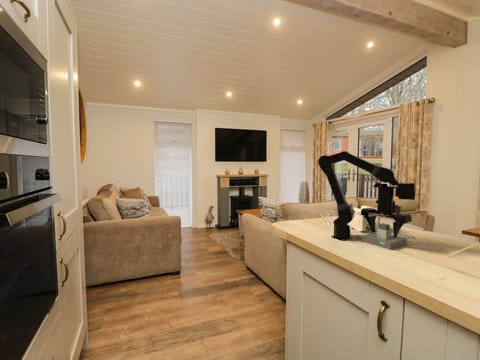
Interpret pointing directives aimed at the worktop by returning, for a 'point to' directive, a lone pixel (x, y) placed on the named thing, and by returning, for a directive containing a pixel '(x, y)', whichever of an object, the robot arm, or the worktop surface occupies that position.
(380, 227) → the plug
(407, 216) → the robot arm
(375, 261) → the worktop surface
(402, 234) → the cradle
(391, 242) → the socket plate
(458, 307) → the worktop surface
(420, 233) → the worktop surface
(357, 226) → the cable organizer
